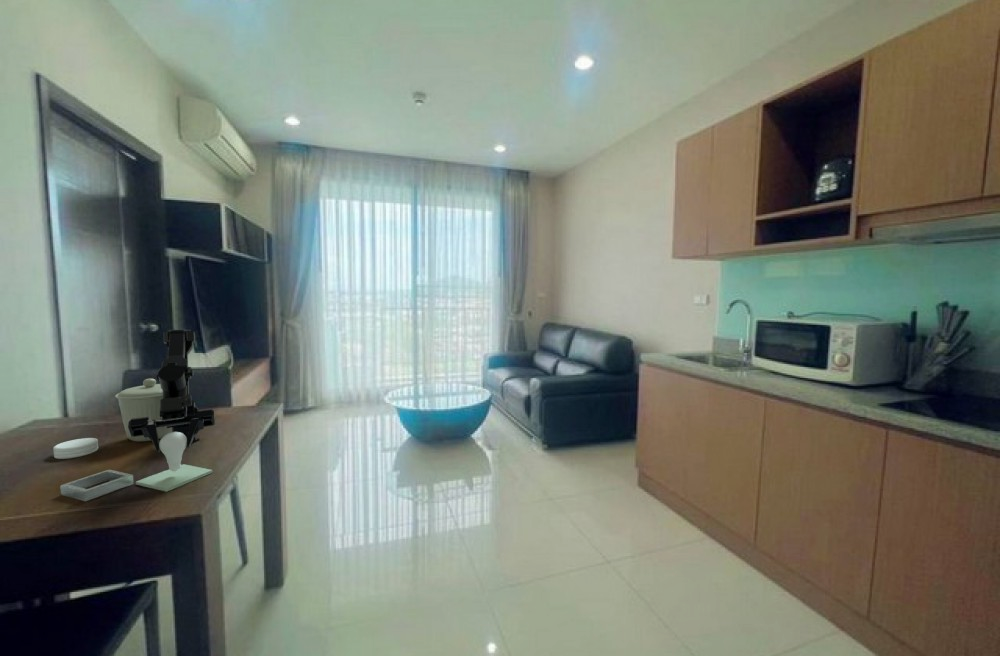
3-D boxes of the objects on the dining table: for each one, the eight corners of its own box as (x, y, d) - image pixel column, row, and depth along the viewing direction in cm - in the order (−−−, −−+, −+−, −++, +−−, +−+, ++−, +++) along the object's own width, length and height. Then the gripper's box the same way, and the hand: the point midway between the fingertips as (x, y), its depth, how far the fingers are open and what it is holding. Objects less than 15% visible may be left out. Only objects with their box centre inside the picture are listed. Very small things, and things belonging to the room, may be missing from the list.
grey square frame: (61, 494, 103) (60, 485, 102) (109, 478, 112) (109, 469, 112) (85, 501, 99) (84, 491, 99) (133, 483, 109) (132, 474, 109)
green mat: (135, 484, 109) (135, 481, 108) (183, 466, 120) (183, 464, 120) (166, 491, 105) (166, 488, 105) (212, 472, 116) (212, 470, 116)
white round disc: (55, 453, 130) (54, 442, 130) (98, 445, 137) (98, 435, 137) (52, 462, 123) (51, 451, 123) (98, 453, 130) (97, 442, 130)
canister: (174, 442, 140) (171, 381, 138) (107, 449, 133) (102, 385, 132) (192, 426, 157) (189, 372, 155) (132, 431, 150) (129, 375, 148)
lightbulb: (161, 478, 108) (159, 437, 107) (159, 470, 112) (157, 431, 111) (190, 471, 112) (188, 432, 111) (187, 464, 117) (185, 427, 116)
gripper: (126, 389, 108) (121, 442, 100) (212, 381, 119) (213, 429, 111) (133, 411, 115) (129, 462, 107) (214, 401, 126) (215, 447, 118)
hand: (173, 449), depth 111 cm, fingers closed on lightbulb, 6 cm apart
